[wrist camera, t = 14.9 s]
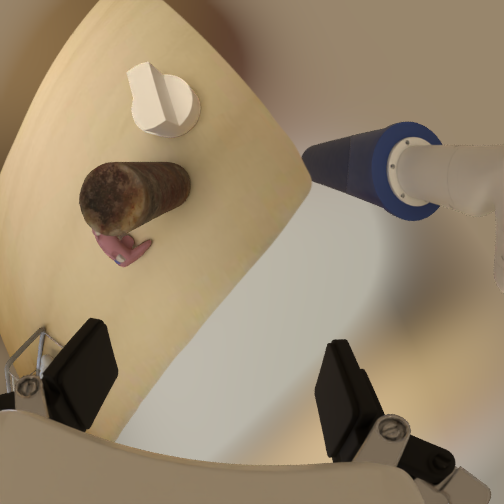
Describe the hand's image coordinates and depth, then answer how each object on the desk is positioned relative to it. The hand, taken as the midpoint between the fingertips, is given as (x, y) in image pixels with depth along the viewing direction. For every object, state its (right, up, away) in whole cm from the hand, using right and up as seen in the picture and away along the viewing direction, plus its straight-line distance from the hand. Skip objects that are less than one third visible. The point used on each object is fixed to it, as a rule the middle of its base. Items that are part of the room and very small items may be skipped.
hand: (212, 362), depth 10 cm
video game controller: (-20, +8, +34) cm, 40 cm away
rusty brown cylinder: (-11, +15, +31) cm, 37 cm away
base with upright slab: (-11, +27, +27) cm, 40 cm away
